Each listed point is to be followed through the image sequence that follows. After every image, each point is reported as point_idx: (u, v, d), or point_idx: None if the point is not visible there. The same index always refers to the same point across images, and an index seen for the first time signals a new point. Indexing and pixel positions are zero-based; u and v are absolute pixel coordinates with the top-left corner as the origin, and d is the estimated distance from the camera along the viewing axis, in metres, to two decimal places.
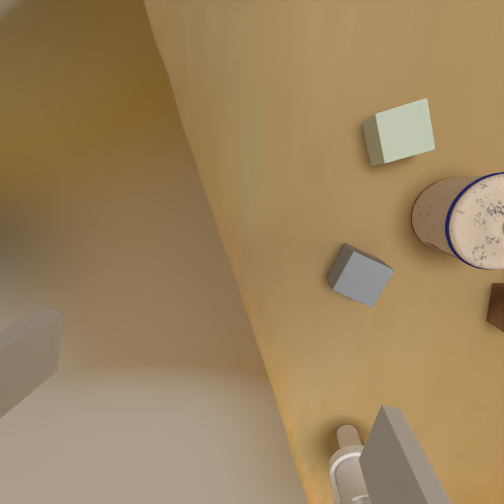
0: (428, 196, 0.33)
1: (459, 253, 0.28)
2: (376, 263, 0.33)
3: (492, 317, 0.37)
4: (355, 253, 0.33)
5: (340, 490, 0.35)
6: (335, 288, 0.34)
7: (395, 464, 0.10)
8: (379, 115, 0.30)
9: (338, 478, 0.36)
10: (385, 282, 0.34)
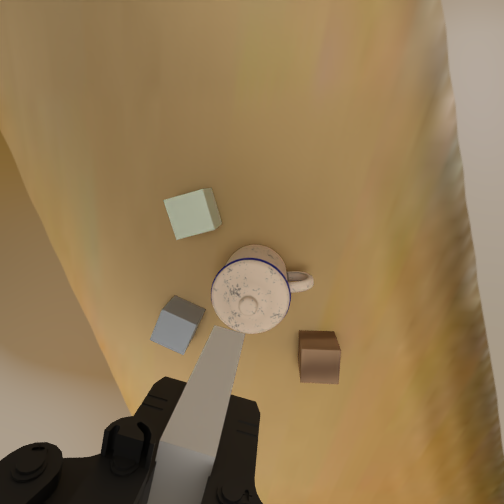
0: None
1: None
2: (181, 319, 0.39)
3: (298, 359, 0.44)
4: (163, 311, 0.39)
5: None
6: (151, 338, 0.40)
7: None
8: (166, 201, 0.36)
9: None
10: (191, 334, 0.40)
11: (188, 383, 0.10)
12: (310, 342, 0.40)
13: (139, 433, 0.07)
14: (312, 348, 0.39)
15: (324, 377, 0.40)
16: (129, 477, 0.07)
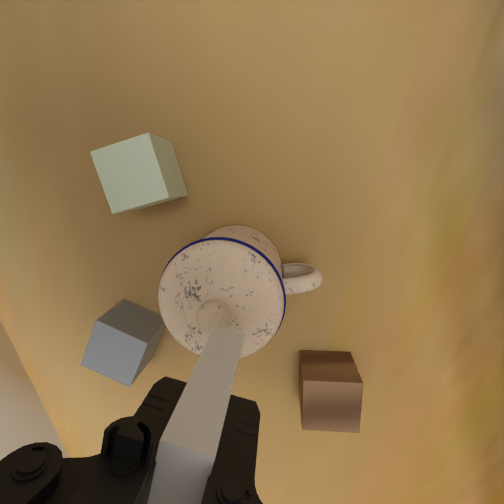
0: None
1: None
2: (125, 335, 0.26)
3: (299, 391, 0.31)
4: (98, 322, 0.26)
5: None
6: (83, 363, 0.28)
7: None
8: (95, 153, 0.23)
9: None
10: (139, 357, 0.27)
11: (188, 383, 0.10)
12: (316, 369, 0.27)
13: (139, 433, 0.07)
14: (320, 379, 0.26)
15: (337, 423, 0.26)
16: (129, 477, 0.07)
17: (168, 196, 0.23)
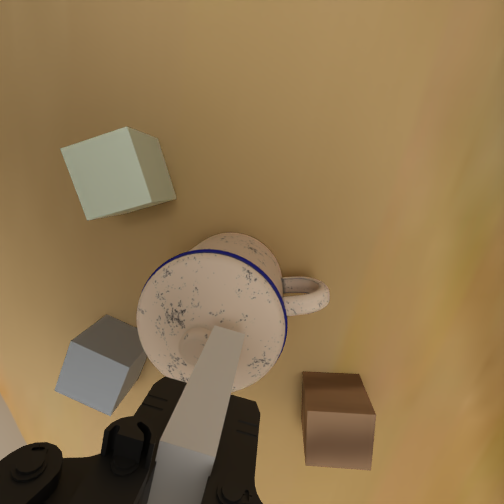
0: None
1: None
2: (103, 358, 0.23)
3: (302, 418, 0.27)
4: (73, 343, 0.23)
5: None
6: (57, 389, 0.24)
7: None
8: (66, 151, 0.20)
9: None
10: (120, 383, 0.24)
11: (188, 383, 0.10)
12: (321, 396, 0.24)
13: (139, 433, 0.07)
14: (326, 409, 0.23)
15: (345, 459, 0.23)
16: (129, 477, 0.07)
17: (151, 200, 0.20)
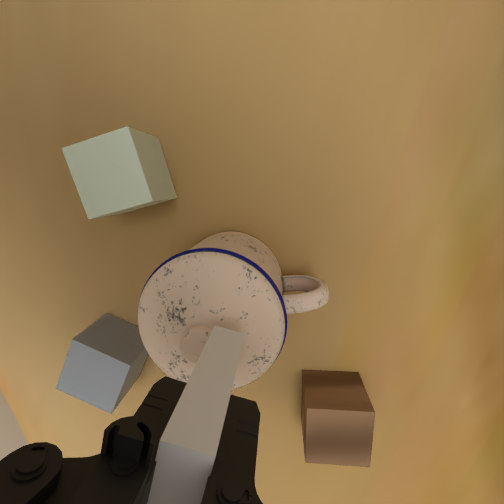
0: None
1: (158, 366, 0.18)
2: (105, 356, 0.23)
3: None
4: (74, 342, 0.23)
5: None
6: (59, 387, 0.24)
7: None
8: (67, 150, 0.20)
9: None
10: (121, 381, 0.24)
11: (188, 383, 0.10)
12: (320, 393, 0.24)
13: (139, 433, 0.07)
14: (325, 406, 0.23)
15: (345, 456, 0.23)
16: (129, 477, 0.07)
17: (152, 199, 0.20)
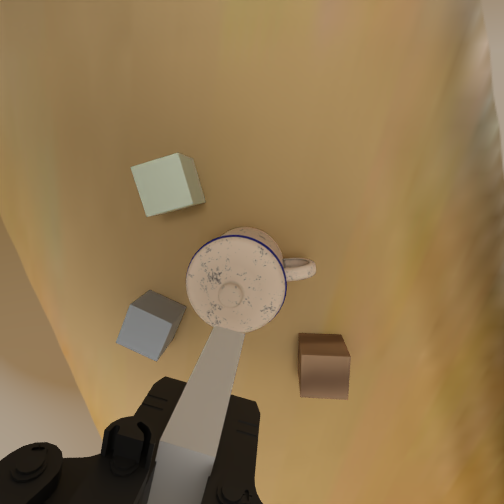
0: None
1: (199, 316, 0.27)
2: (153, 316, 0.32)
3: (298, 368, 0.36)
4: (132, 306, 0.32)
5: None
6: (118, 341, 0.33)
7: None
8: (134, 168, 0.29)
9: None
10: (165, 336, 0.32)
11: (188, 383, 0.10)
12: (312, 346, 0.33)
13: (139, 433, 0.07)
14: (315, 354, 0.31)
15: (329, 391, 0.32)
16: (129, 477, 0.07)
17: (192, 203, 0.29)
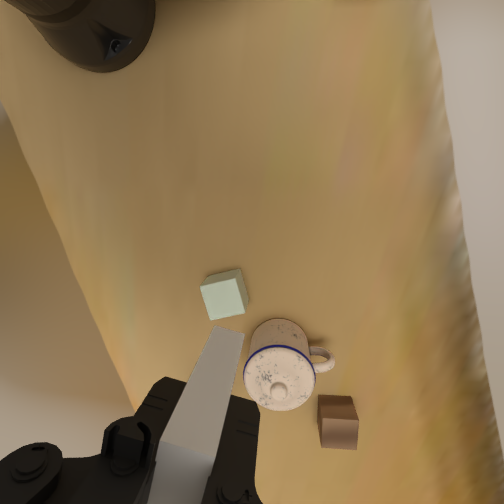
0: (253, 337, 0.43)
1: (252, 398, 0.38)
2: None
3: (318, 421, 0.47)
4: None
5: None
6: None
7: None
8: (202, 287, 0.40)
9: None
10: None
11: (188, 383, 0.10)
12: (329, 409, 0.44)
13: (139, 433, 0.07)
14: (332, 417, 0.43)
15: (343, 444, 0.43)
16: (129, 477, 0.07)
17: (244, 312, 0.40)
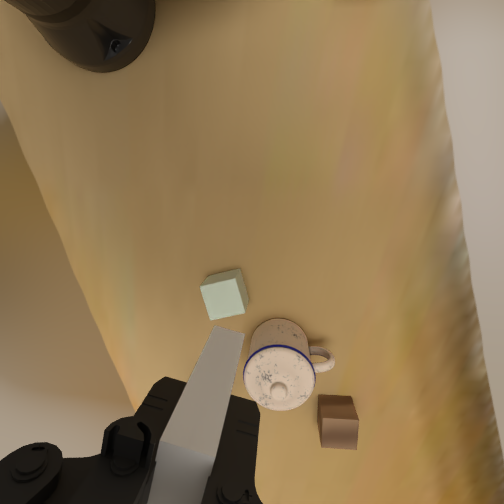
0: (254, 337, 0.43)
1: None
2: None
3: (318, 421, 0.47)
4: None
5: None
6: None
7: None
8: (202, 287, 0.40)
9: None
10: None
11: (188, 383, 0.10)
12: (329, 409, 0.44)
13: (139, 433, 0.07)
14: (332, 417, 0.43)
15: (343, 444, 0.43)
16: (129, 477, 0.07)
17: (244, 312, 0.40)
